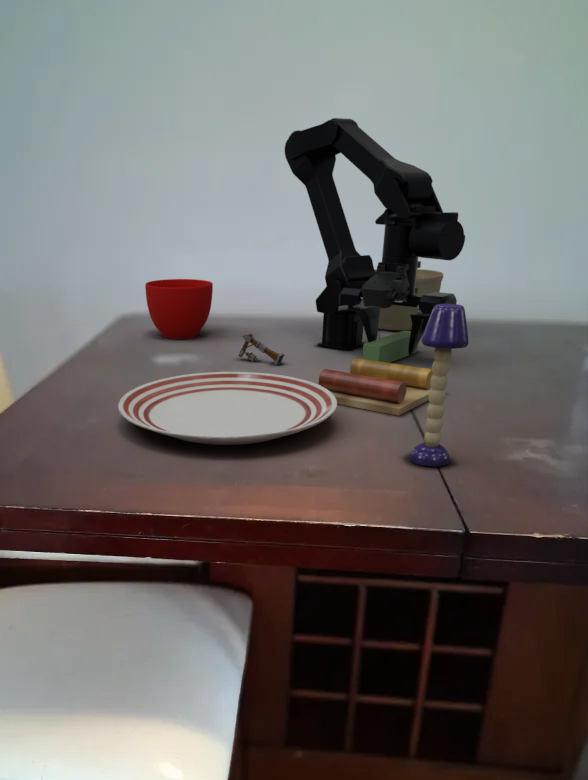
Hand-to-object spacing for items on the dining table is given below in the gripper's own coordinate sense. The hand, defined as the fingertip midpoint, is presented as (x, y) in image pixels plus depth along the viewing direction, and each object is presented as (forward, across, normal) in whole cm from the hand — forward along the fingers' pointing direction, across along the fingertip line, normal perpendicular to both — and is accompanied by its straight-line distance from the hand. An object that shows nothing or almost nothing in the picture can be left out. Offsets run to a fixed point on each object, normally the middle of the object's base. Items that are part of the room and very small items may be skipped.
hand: (391, 351), depth 127 cm
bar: (+1, 0, 0) cm, 1 cm away
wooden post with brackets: (+1, -16, -16) cm, 23 cm away
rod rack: (+1, +9, -23) cm, 25 cm away
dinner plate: (+1, 0, -46) cm, 46 cm away
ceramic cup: (+1, -42, -5) cm, 42 cm away
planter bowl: (+1, -12, +27) cm, 30 cm away
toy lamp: (+1, +26, -43) cm, 50 cm away
